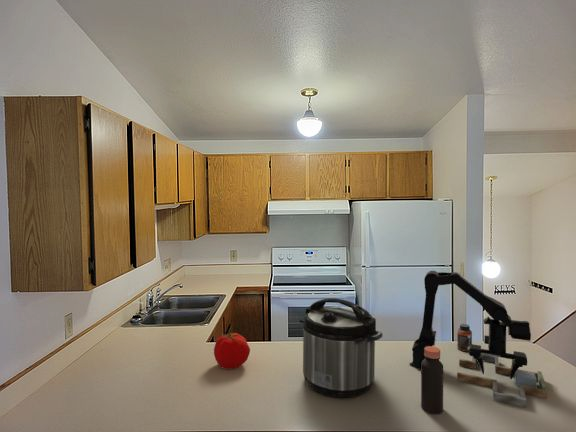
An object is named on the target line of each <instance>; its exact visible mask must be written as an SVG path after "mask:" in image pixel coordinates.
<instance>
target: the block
mask: <svg viewBox="0 0 576 432" xmlns="http://www.w3.org/2000/svg"><path fill="white" fill-rule="evenodd" d="M524 371H525V370H524ZM524 371H518V370H517V371H516V372H515V376H514V382H515V385H516V387H517V388H519V385H524V386H529V387H534V388H538V387H537V385H538V384H537V383H538V381H537V379H536V377H535V374H534V373H530V372H531V371H530V372H524Z"/></svg>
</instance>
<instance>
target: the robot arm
mask: <svg viewBox="0 0 576 432" xmlns="http://www.w3.org/2000/svg"><path fill="white" fill-rule="evenodd" d="M423 280H424V281H423V283H424V290H425V300H424V310H423V317H422V318H423V319H422V327H421V330H420V332H419V337H418V338H417V339H415V341H414V342H413V345H412V347H411V350H412V361H411V362H410V363H409V365H410V366H411V367H414V368H416V369H419V370H421V362H422V361H423V360H424V359H425V355H424V348H425V347H427V346H433V347H436V345H435V344H436V335H437V331H436V330H434V329H433V323H434V322H433V321H434V313H435V303H436V296H437V293H438V289H439V286H447V285H455V286H456V287H458V289H460V290H461V291H463V292H464V293H465V294H466V295H468V296H469V297H471V299H473V300H474V301H475V302H477V303H478V304H479V305H480V306H481V307H482V308H483V310H484V311H485V312H486V313H487V314H488V315H489V316H486V318H484V319H483V324H485V325H488V335H484V339H483V340H484V341H483V342H484V344H485V345H488V347H487V348H488V349H485V348H482V345H480V344H471V345H470V351H469V352H468V353H469V356H470V357H472V358H474V359H477V360H476V361H477V363H478V366H479V367H480V370H481V373H482V374H483V375H485V367H484V361H483V357H482V354H484V355H490V356H496V357H498V358H501V359H502V358H503V359H508V360H511V366H510V368H511V372H510V375H509V380H512V379H513V378H514V377H515V376H514V374H515V372H516V371H517V369H520V368H523V367H524V366H528V357H527V354H526V353H525V352H522V351H515V350H514V351H513V353H508V352H507V335H508V336H510V338H511V339H513V340H521V341H527V342H530V341H531V338H532V333H531V327H530V322H529V321H528V320H514V319H512V318H511V316H510V315H509V314H508V310H507V308H506V306H505V305H504V303H502V302H500V301H499V300H497V299H495V298H493V297H491V296H489V295H487V294H485V293H484V292H483V291H481V290H480V289H479V288H478V287H476V286H474V285H473V284H472V282H470V281H468V280H467V279H465V278H464V277H463V276H462V275H461V274H460V273H459V272H457V271H456V272H443V271H442V272H438V271H436V270H429V271H427V272H426V274H425V276H424V279H423ZM473 356H474V357H473Z"/></svg>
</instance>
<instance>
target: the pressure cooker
mask: <svg viewBox="0 0 576 432" xmlns="http://www.w3.org/2000/svg"><path fill="white" fill-rule="evenodd" d="M326 303H332V304H333V303H337V304H340V305H343V306H338V305H337V306H336V305H331V306H330V305H329V306H325V305H326ZM376 321H377V319H376V318H375V317H374V316H372V315H371V314H370V312H369V311H368V310H366V309H365V308H364V307H361V306H360V305H358V304H357V303H354V302H352V301H349V300H345V299H342V298H341V299H340V298H337V297H335V298H331V297H330V298H322V299H319V300H317V301H315V302H312V304H310V306H308V307H307V308H305V315H304V316H303V317H301V318H299V323H300V324H303V327H302V330H303V333H302V335H303V338H302V347H303V348H302V352H303V353H302V374H303V378H304V380H305V381H306V382H308V383H309V386H310V387H311V388H312V389H313V390H314V391H315V392H318V393H319V394H321V395H325V396H329V397H337V398H351V397H352V398H353V397H356V396H360V395H362V394H364V393H366V392H367V391H368V390H370V389H371V388H372V385H373V384H374V383H373V382H374V379H375V360H376V359H375V352H376V351H375V349H376V341H379V340H380V339H382V338H383V333H382V332H381V331H378V330H377V322H376Z"/></svg>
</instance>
